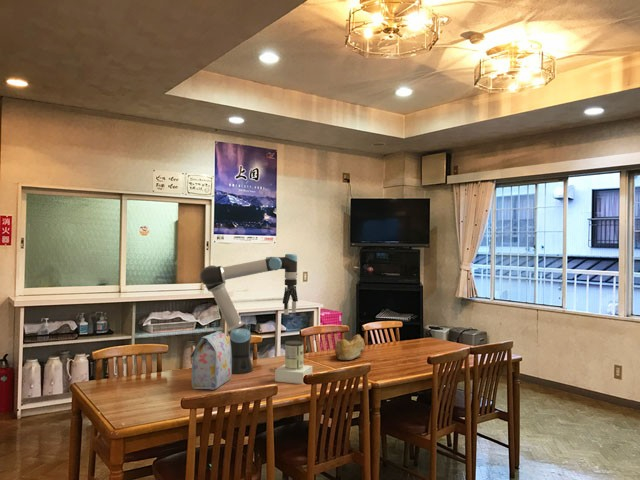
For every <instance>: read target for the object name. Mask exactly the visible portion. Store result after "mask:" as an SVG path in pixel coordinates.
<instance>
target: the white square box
mask: <svg viewBox="0 0 640 480" xmlns="http://www.w3.org/2000/svg"><path fill="white" fill-rule="evenodd" d="M311 373H312V374H313V365H307V364H303V369H300V370H288V369H285V363H284V364H282V365H280V366H279V367H278V368H276V369H275V370H274V382H278V383H279V382H281V383H290V384H299V385H303V377H304V376H305V375H307V374H311Z"/></svg>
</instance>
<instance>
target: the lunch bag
mask: <svg viewBox="0 0 640 480" xmlns="http://www.w3.org/2000/svg"><path fill="white" fill-rule="evenodd" d="M189 357H190V358H192V359H191V360H192V361H191V387H192V389H193V390H212V391H213V390H217V389H218V388H219V387H220V386H222V385H223V384H225V383H227V382H229V381H231V379H232V374H233V373H232V354H231V343H230V338H229V337H228V336H227V335H226V333H225V332H223V331H222V330H220V331H219V330H217V331H215V332H213V333H212V332H211V333H210V334H207V335H204V336H202V337H201V339H200V341H199V342H198V343H197V345H196V346H195V348H194V349H193V351H192V352H191V353H190V356H189Z"/></svg>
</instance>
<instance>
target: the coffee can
mask: <svg viewBox="0 0 640 480" xmlns="http://www.w3.org/2000/svg"><path fill="white" fill-rule="evenodd" d="M284 344H285V347H284V348H285V349H284V351H285V352H284V354H285V355H284V361H285V362H284V364H285V369H288V370H300V369H303V365H304V344H305V343H304V341H302V340H287V341H285V343H284Z"/></svg>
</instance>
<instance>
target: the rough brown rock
mask: <svg viewBox="0 0 640 480" xmlns="http://www.w3.org/2000/svg"><path fill="white" fill-rule="evenodd" d="M364 340H365V339H364V338H363V337H362V336H361V334H358V333H357V334H356V335H354V336H352V337H351V338H350V339H349V340H347V339H345V338H343V339H339V340H337V341H336V344H335V348H334V353H335V357H336V358H337V360H339V361H351V360H354V359H356V358H359V357H361V355H362V352H364V350H366V344H365V341H364Z"/></svg>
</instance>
